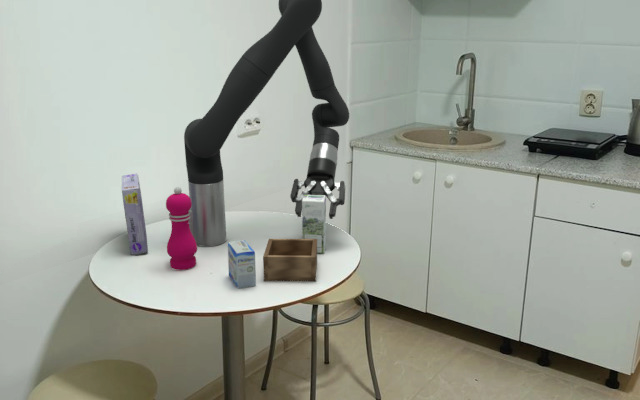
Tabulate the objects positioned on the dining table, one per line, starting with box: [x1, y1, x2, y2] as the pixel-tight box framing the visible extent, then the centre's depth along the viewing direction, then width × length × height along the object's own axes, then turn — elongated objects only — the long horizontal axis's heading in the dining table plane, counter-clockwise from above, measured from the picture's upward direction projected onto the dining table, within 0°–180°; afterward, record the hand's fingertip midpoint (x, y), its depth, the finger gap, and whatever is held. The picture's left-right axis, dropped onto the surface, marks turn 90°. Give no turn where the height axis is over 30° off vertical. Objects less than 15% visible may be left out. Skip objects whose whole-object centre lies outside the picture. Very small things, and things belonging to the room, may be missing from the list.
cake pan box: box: [121, 173, 149, 255], centre depth 158 cm, size 19×5×18 cm, turn 18°
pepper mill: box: [165, 186, 198, 271], centre depth 142 cm, size 7×7×20 cm
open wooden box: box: [262, 238, 318, 282], centre depth 141 cm, size 12×12×6 cm
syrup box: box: [301, 195, 327, 254], centre depth 153 cm, size 6×6×14 cm
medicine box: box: [227, 239, 257, 289], centre depth 135 cm, size 8×4×9 cm, turn 23°
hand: (314, 216), depth 153 cm, fingers open, 8 cm apart
